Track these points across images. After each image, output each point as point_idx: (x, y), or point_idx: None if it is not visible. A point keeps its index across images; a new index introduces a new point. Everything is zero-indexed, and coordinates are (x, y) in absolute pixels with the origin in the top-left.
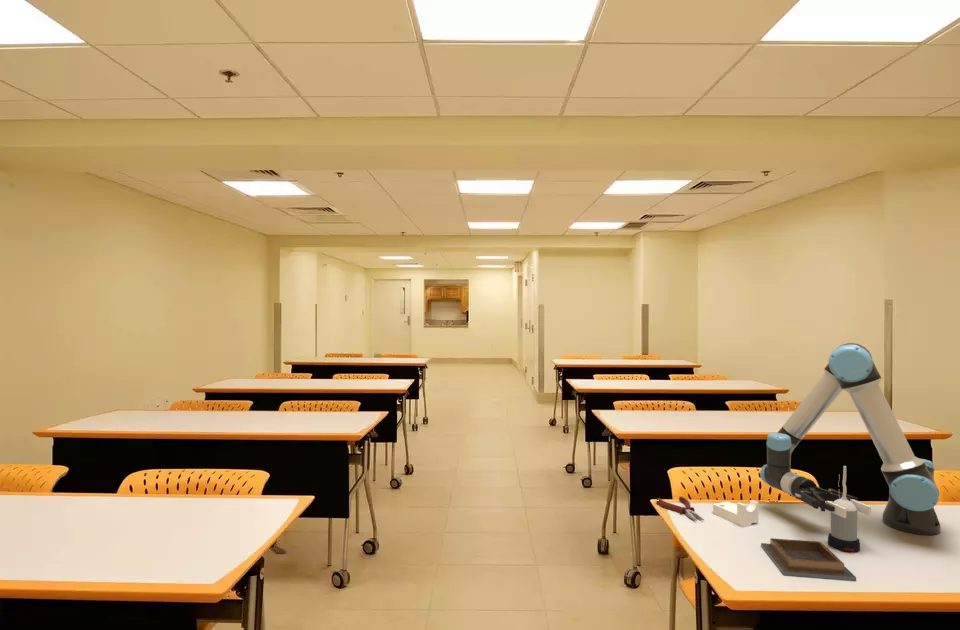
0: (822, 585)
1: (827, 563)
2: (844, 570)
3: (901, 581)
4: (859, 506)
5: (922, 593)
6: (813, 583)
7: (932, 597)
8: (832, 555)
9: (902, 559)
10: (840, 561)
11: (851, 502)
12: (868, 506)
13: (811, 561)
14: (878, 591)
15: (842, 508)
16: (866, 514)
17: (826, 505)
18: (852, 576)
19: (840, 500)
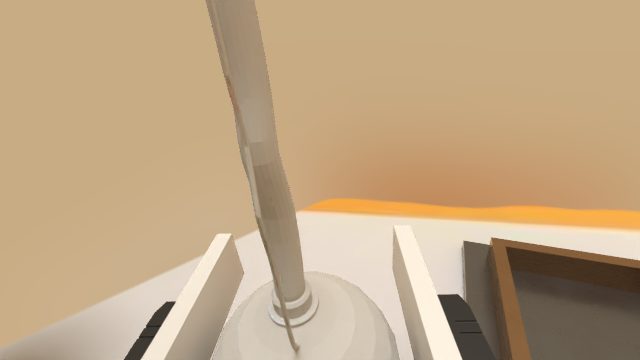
0: (565, 242)
1: (545, 247)
2: (479, 266)
3: (353, 239)
4: (212, 303)
5: (353, 211)
6: (590, 250)
7: (348, 203)
8: (509, 278)
9: (226, 319)
10: (497, 247)
11: (258, 292)
12: (225, 238)
13: (605, 255)
14: (435, 219)
15: (413, 234)
16: (238, 284)
17: (486, 348)
18: (471, 244)
19: (334, 310)
